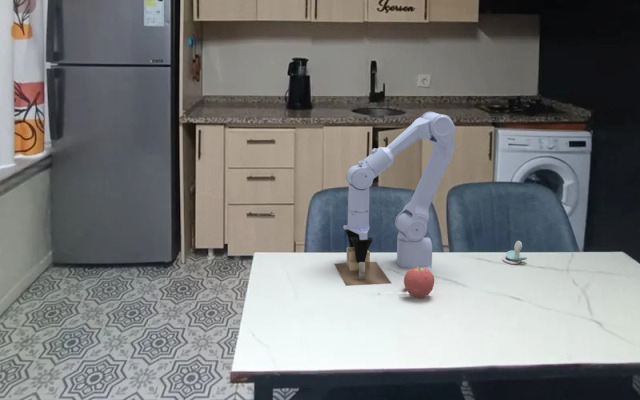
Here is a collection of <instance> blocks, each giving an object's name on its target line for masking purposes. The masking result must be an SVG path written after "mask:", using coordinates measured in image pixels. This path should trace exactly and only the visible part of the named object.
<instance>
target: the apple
mask: <svg viewBox="0 0 640 400" xmlns="http://www.w3.org/2000/svg"><path fill="white" fill-rule="evenodd" d="M403 284H404V287H405V290H406V291H407V293H408V294H409V295H411V297H414V298H418V299H421V298H425V297H427V296H428V295H430V294H431V292H432V291H433V289H434V284H435V276H434V274H433V272H431V271H430V269H428V268H425V267H421V266H420V267H416V268H409V269H408V270H407V271H406V273H405V274H404V279H403Z"/></svg>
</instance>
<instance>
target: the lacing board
mask: <svg viewBox="0 0 640 400" xmlns="http://www.w3.org/2000/svg"><path fill="white" fill-rule="evenodd" d="M333 264H334V266H335V269H336V270H337V272H338V273H339V276H340V278H341V279H342V281H343V283H344V285H345V287H347V286H366V285H367V286H368V285H385V284H386V285H388V284H392V282H391V280H390V279H389V278H388V276H387V275H386V274H385V272H384V271H383V269H382V268H381V267H380V265H379V263H378V262H377V261H370V270H365V262H359V270H355V271H350V270H349V268H348V266H347V262H344V263H343V262H342V263H341V262H339V263H333Z"/></svg>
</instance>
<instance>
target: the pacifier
mask: <svg viewBox="0 0 640 400" xmlns="http://www.w3.org/2000/svg"><path fill="white" fill-rule="evenodd" d="M513 249H514V250H513ZM513 249H512V250H508V251H507V252H506V253H505V256H503V257H502V258H501V259H502V261H503V262H504V263H506V264H511V265H517V264H520V263H521V261H526V260H527V259H528V257H522V254H521V252H520V251H521V250H522V249H523V243H522V241H520V240H517V241H516V242H515V243H514V247H513ZM508 259H509V260H508Z"/></svg>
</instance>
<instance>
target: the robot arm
mask: <svg viewBox="0 0 640 400" xmlns="http://www.w3.org/2000/svg"><path fill="white" fill-rule="evenodd" d="M456 130H457V128H456V126H455V124H454V122H453V120H452V118H451V117H450V116H449V115H446V114H440V113H437V112H434V111H427V112H425V113H423V114H422V115H421V116H420V117H418V118H416V119H414V121H413V122H412V123H411V124H410V125H409V126H408V127H406V129H405V130H404V131H403V132H401V133H400V134H399V135H397V137H396V138H395V139H393V141H391V142H390V143H389V144H388V145H387V146H386V147H385V146H384V147H383V146H379V147H378V148H375V147H374V148H373V149H371V153H370V154H369V155H368V156H366V157H365V158H364V159H362V160H359V161H358V162H357V163H358V164H356V165H352V166H351V167H349V169H348V170H347V173H346V175H345V179H346V181H347V183H348V195H347V202H348V203H347V204H348V205H347V224H345V225H343V229H344V231H345V233H346V237H347V240H348V245H349V247H354V249H355V257H356V261H357V263H359V262H365V259H366V255H367V251H368V250H369V248H370V246H371V244H372V243H373V238H372V237H368V233H369V231H370V227H371V226H370V187H371V186H372V185H373V183H374V182H373V181H374V179H375V178H377V177H378V176H379V175H380V174H382V173H383V172H384V171H386V170H387V169H388V168H390V166H392V165H394V159H395V157H396V156H397V155H398V154H400V153H401V152H403V151H404V150H405V149H407V148H408V147H410V146H411V145H412V144H414V143H415V142H416V141H417V140H425V139H426V140H427V139H428V140H429V142H430V145H431V147H432V149H433V150H432V153H431V154H430V157H429V159H428V161H427V164H426V166H425V168H424V170H423V172H422V175H421V176H420V179H419V181H418V184H417V185H416V189H415V190H414V193H413V195H412V197H411V200H410V201H409V202H408V203H406V204H405V205H404V207H403V210H401V212H400V213H398V214H397V216H396V217H395V220H394V225H395V228H396V229H397V231H398V234H397V237H396V238H397V239H396V240H397V243H396V248H397V249H396V265H397V266H399V267H402V268H409V269H412V268H417V267H420V266H421V268H425V267H431V269H432V267H433V266H432V265H433V244H432V243H433V242H432V240H431V238H430V237H428V236H427V237H425V236H426V234H427V231H428V223H429V219H430V214H429V212H430V211H429V209H430V206H431V204H432V202H433V199H434V197H435V195H436V193H437V190H438V188H439V187H440V184H441V182H442V180H443V177H444V176H445V173H446V170H447V168H448V166H449V164H450V162H451V160H452V158H453V155H454V153H455V148H456V145H455V132H456Z"/></svg>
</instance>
